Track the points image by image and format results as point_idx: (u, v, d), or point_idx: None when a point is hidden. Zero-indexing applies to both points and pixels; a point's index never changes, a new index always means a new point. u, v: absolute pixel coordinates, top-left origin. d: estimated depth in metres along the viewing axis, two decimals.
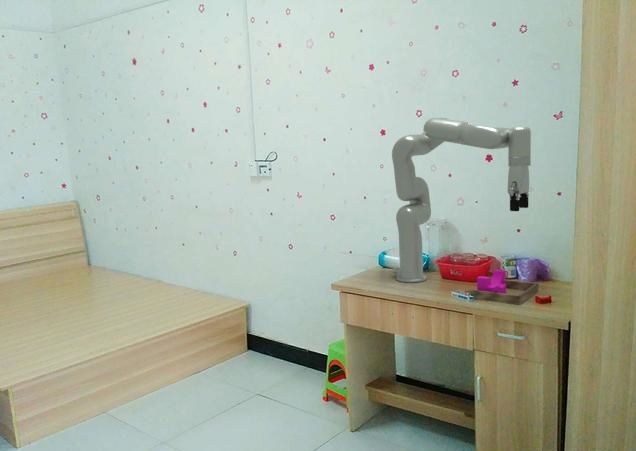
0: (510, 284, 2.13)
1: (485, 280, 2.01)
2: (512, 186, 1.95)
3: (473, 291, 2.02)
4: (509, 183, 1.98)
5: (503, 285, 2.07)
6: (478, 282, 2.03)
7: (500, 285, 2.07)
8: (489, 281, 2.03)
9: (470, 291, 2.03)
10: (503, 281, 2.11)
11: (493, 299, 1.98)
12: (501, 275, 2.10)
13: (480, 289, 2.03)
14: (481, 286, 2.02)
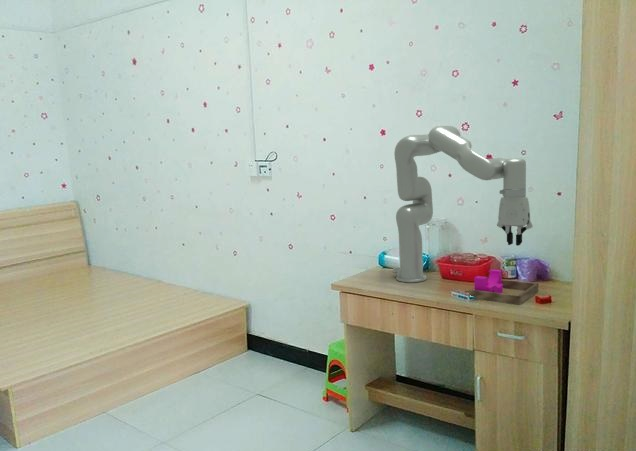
0: (510, 284, 2.13)
1: (482, 280, 2.02)
2: (530, 222, 1.96)
3: (473, 291, 2.02)
4: (527, 215, 1.94)
5: (500, 285, 2.08)
6: (475, 282, 2.04)
7: (497, 285, 2.08)
8: (486, 281, 2.03)
9: (470, 291, 2.03)
10: (500, 281, 2.12)
11: (493, 299, 1.98)
12: (498, 275, 2.11)
13: (477, 289, 2.03)
14: (479, 285, 2.03)
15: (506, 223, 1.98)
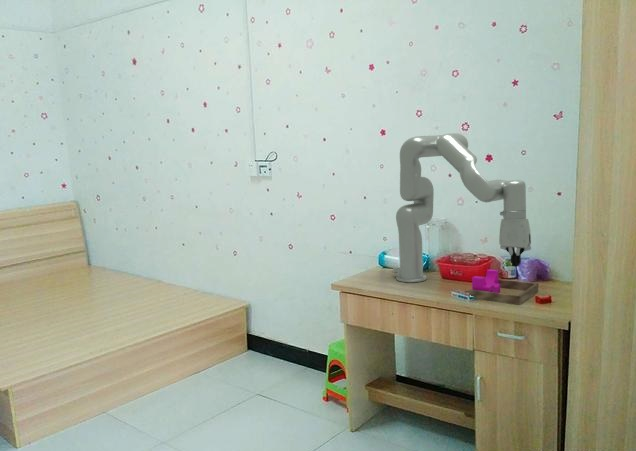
0: (510, 284, 2.13)
1: (480, 280, 2.02)
2: (529, 245, 1.97)
3: (473, 291, 2.02)
4: (527, 236, 1.95)
5: (497, 285, 2.08)
6: (473, 282, 2.04)
7: (494, 285, 2.08)
8: (484, 281, 2.03)
9: (470, 291, 2.03)
10: (497, 281, 2.12)
11: (493, 299, 1.98)
12: (495, 275, 2.11)
13: (475, 289, 2.04)
14: (477, 285, 2.03)
15: (507, 244, 1.99)
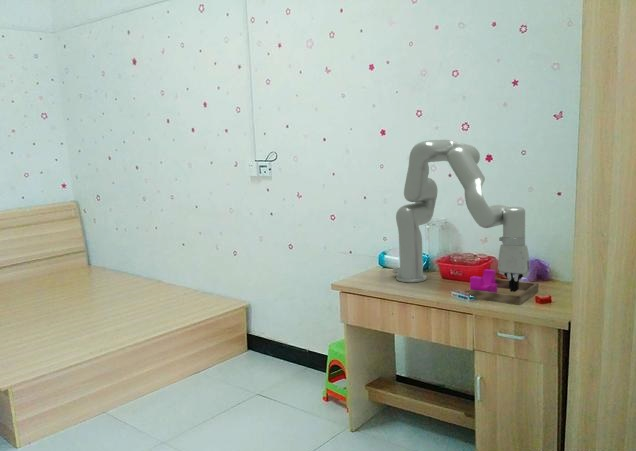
0: None
1: (478, 280, 2.02)
2: (528, 271, 1.99)
3: (473, 291, 2.02)
4: (526, 263, 1.97)
5: (494, 284, 2.08)
6: (471, 282, 2.04)
7: (491, 284, 2.09)
8: (482, 281, 2.03)
9: (470, 291, 2.03)
10: (493, 280, 2.13)
11: (493, 299, 1.98)
12: (492, 275, 2.12)
13: (473, 289, 2.04)
14: (475, 285, 2.03)
15: (506, 270, 2.01)
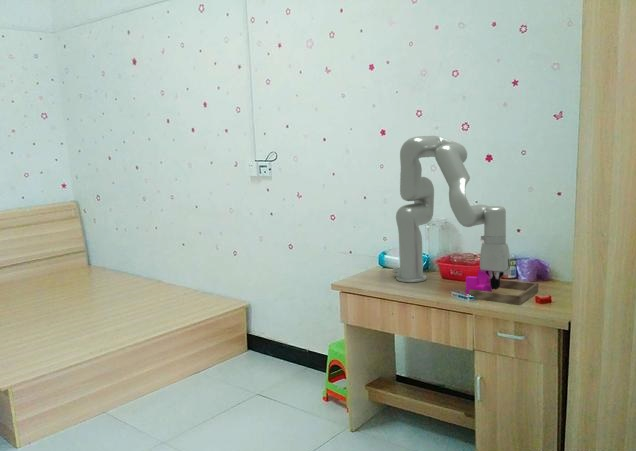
0: (510, 284, 2.13)
1: (474, 280, 2.02)
2: (508, 269, 2.03)
3: (473, 291, 2.02)
4: (506, 261, 2.01)
5: (489, 284, 2.09)
6: (467, 282, 2.04)
7: (486, 284, 2.10)
8: (477, 281, 2.04)
9: (470, 291, 2.03)
10: (488, 280, 2.13)
11: (493, 299, 1.98)
12: (486, 274, 2.13)
13: (469, 289, 2.04)
14: (470, 285, 2.04)
15: (487, 268, 2.05)
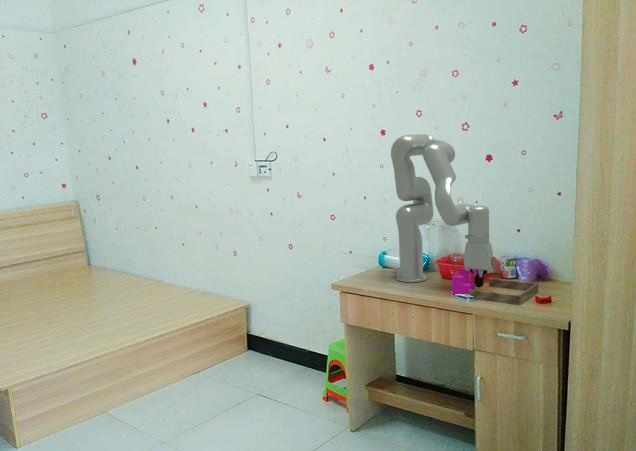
0: (510, 284, 2.13)
1: (460, 279, 2.05)
2: (492, 267, 2.07)
3: (473, 291, 2.02)
4: (490, 260, 2.05)
5: (472, 283, 2.13)
6: (453, 281, 2.06)
7: (469, 283, 2.13)
8: (463, 279, 2.07)
9: (470, 291, 2.03)
10: (470, 279, 2.17)
11: (493, 299, 1.98)
12: (468, 273, 2.16)
13: (455, 288, 2.06)
14: (457, 284, 2.06)
15: (471, 267, 2.09)
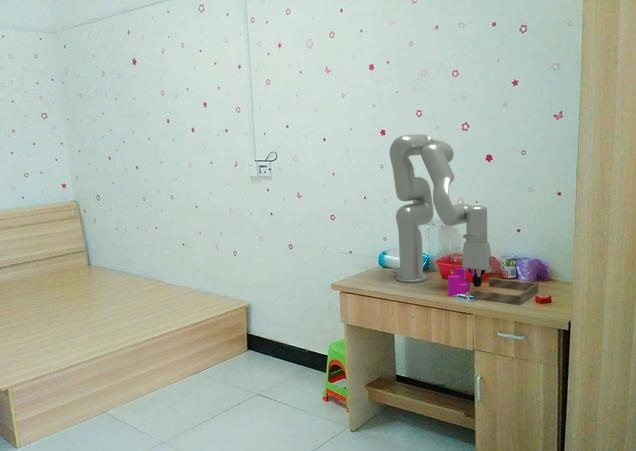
0: (510, 284, 2.13)
1: (457, 279, 2.05)
2: (490, 267, 2.07)
3: (473, 291, 2.02)
4: (488, 259, 2.05)
5: (468, 282, 2.13)
6: (449, 281, 2.06)
7: (465, 283, 2.13)
8: (459, 279, 2.07)
9: (470, 291, 2.03)
10: (464, 279, 2.18)
11: (493, 299, 1.98)
12: (463, 273, 2.16)
13: (451, 288, 2.06)
14: (453, 284, 2.06)
15: (469, 266, 2.09)
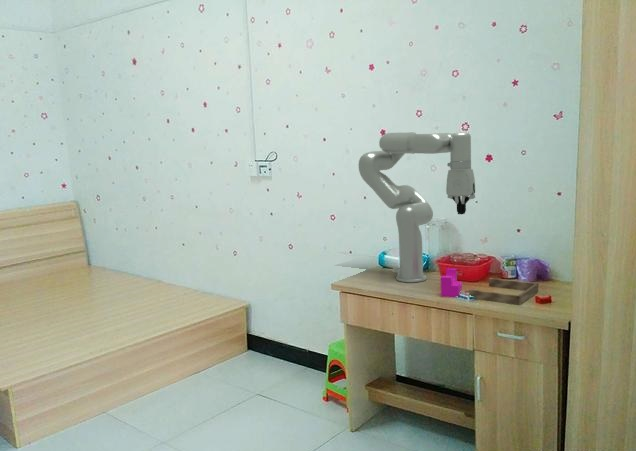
0: (510, 284, 2.13)
1: (449, 279, 2.05)
2: (473, 193, 2.09)
3: (473, 291, 2.02)
4: (471, 185, 2.07)
5: (459, 282, 2.14)
6: (442, 281, 2.06)
7: (457, 283, 2.14)
8: (451, 280, 2.07)
9: (470, 291, 2.03)
10: (456, 279, 2.18)
11: (493, 299, 1.98)
12: (455, 273, 2.17)
13: (444, 288, 2.06)
14: (446, 285, 2.06)
15: (453, 193, 2.11)
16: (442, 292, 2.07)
